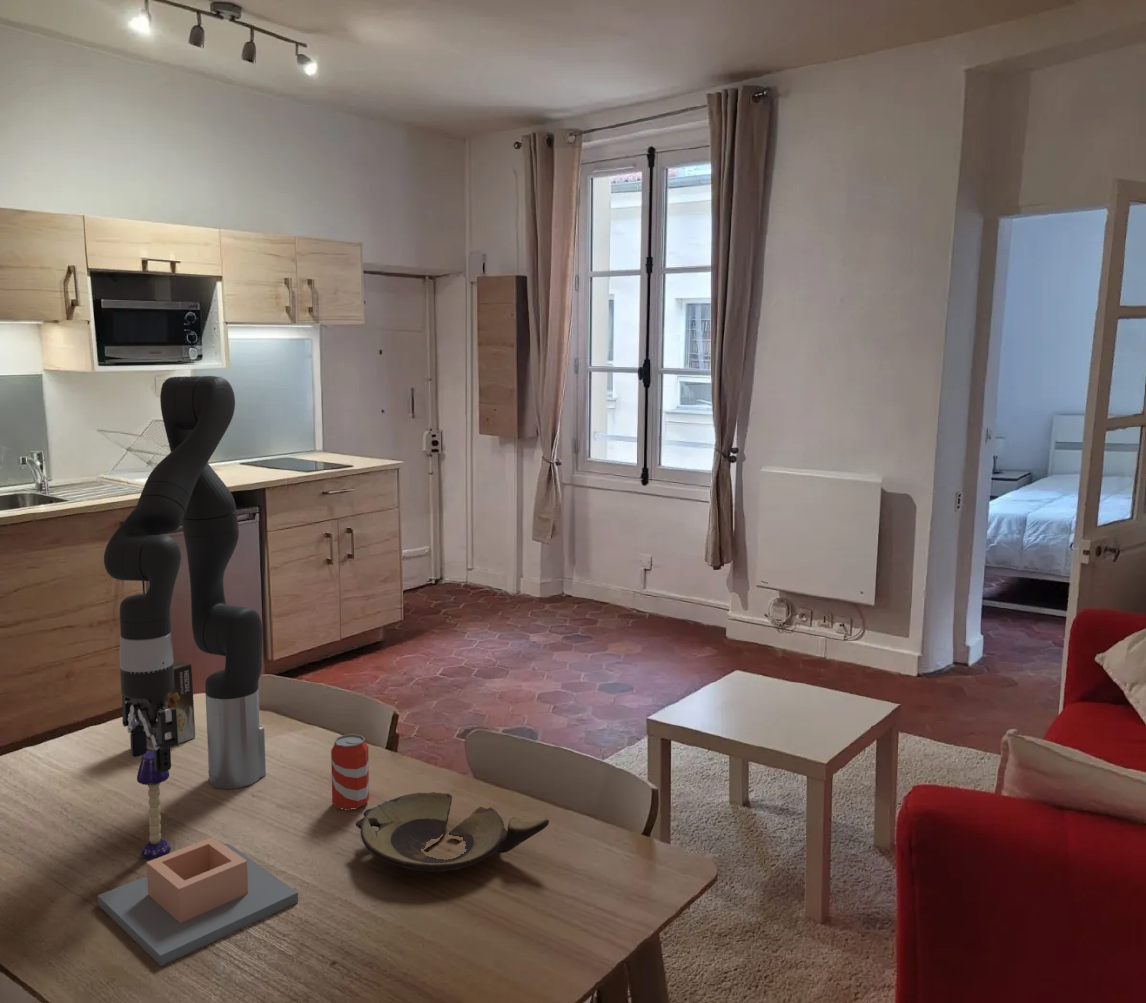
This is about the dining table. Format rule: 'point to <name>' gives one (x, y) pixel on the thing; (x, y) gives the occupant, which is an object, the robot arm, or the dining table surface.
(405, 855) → the broken brown handled bowl
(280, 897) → the socket block
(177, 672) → the coffee box
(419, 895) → the dining table surface
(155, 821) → the toy lamp
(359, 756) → the beverage can
